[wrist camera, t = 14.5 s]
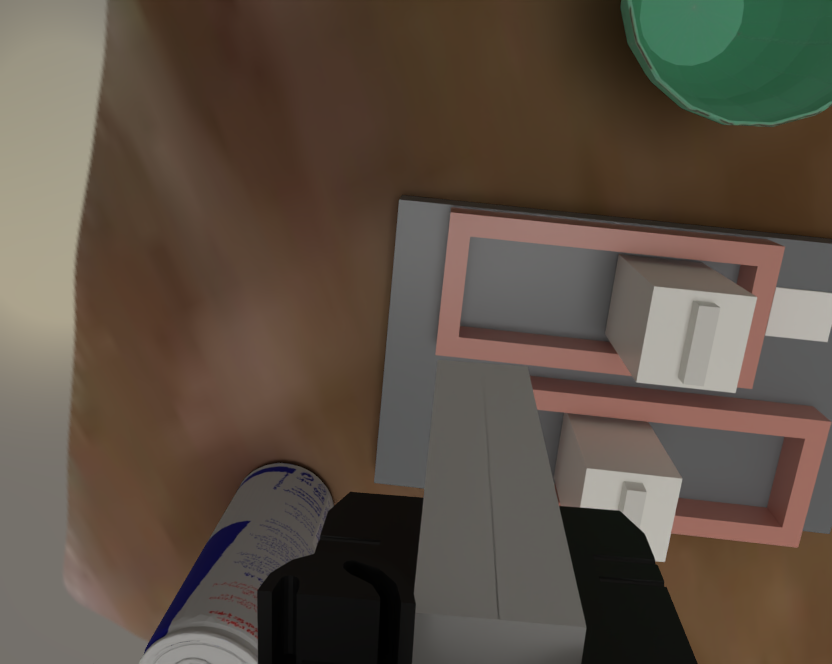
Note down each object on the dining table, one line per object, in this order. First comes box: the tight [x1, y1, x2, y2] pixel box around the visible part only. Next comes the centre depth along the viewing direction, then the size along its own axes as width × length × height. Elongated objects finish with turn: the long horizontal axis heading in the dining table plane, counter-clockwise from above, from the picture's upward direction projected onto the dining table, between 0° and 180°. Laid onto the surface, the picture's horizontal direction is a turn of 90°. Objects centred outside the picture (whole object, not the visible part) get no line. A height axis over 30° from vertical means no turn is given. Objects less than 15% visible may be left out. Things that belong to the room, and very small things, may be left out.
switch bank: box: [374, 195, 832, 548], centre depth 39 cm, size 15×24×4 cm, turn 85°
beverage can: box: [139, 463, 334, 664], centre depth 37 cm, size 6×6×15 cm
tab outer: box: [554, 413, 682, 562], centre depth 36 cm, size 4×4×8 cm
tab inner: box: [605, 254, 757, 393], centre depth 34 cm, size 4×4×8 cm
